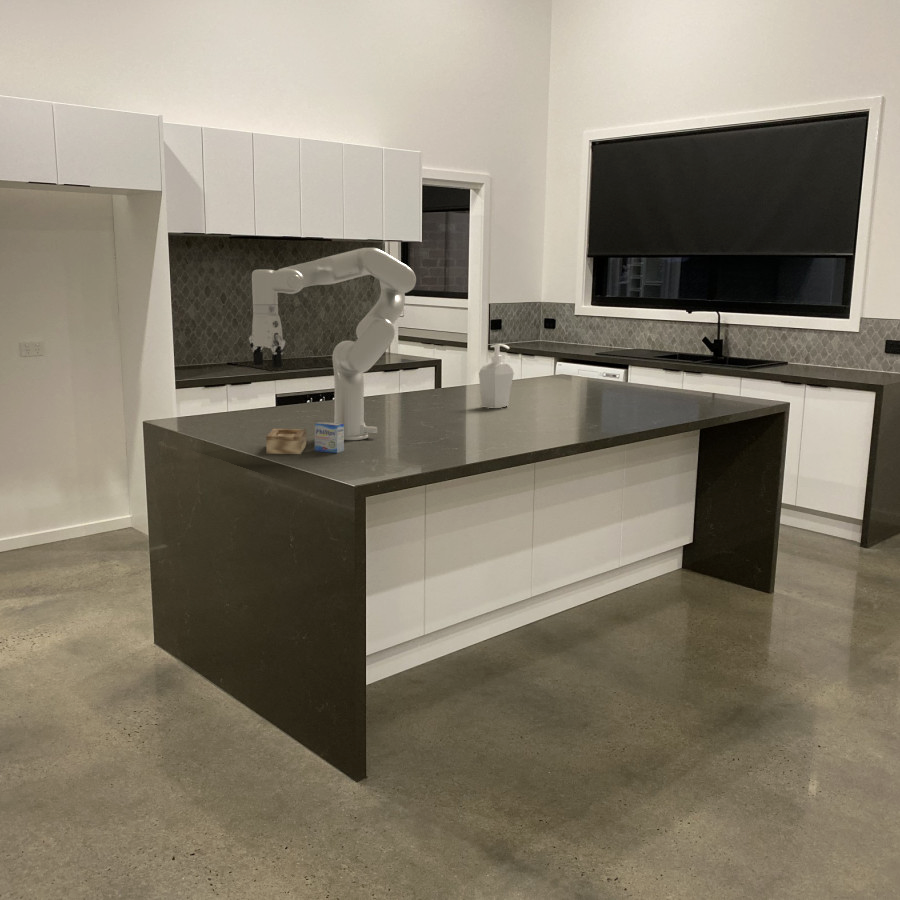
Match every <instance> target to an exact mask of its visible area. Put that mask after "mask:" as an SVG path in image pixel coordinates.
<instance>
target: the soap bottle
mask: <svg viewBox="0 0 900 900" xmlns="http://www.w3.org/2000/svg"><path fill="white" fill-rule="evenodd" d="M500 347H503V348H505V349H506V350H510V348H511V347H510V346H508V345H507V344H504V343H503V344H502V343H498V344H497V343H496V344H492V345H490V348H494V354H492V355H491V362H486V363H485V364H484V365H482V366H481V368H480V370H479V372H478V379H479V388H480V397H481V407H482V406H486V407H493V408H497V407H502V406H508V407H509V402H510V395H511V391H512V390H511V389H512V386H513V385H512V384H513V379H514V370H513V368H512V367H511V365H509V364H508V363H505V362H504V363H503V361H502V360H503V355H500Z"/></svg>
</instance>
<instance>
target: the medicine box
mask: <svg viewBox="0 0 900 900" xmlns="http://www.w3.org/2000/svg"><path fill="white" fill-rule="evenodd" d="M344 441H345V440H344V424H340V423H335V422H329V421H328V422H327V421H319V422H315V423H314V451H315V452H320V453H331V454H339V453H341V452H344V451H345V449H344V448H345V446H344V445H345V442H344Z"/></svg>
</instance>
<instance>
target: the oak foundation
mask: <svg viewBox="0 0 900 900" xmlns="http://www.w3.org/2000/svg"><path fill="white" fill-rule="evenodd" d="M265 440H266V445H265V446H266V454H271V455H272V454H275V455H276V454H277V455H279V454H280V455H302V452H304V450H305V448H306V447H307V428H305V429H304V428H300V429H299V428H273V429H272V430H271V431H270V432H269V433H267V435H266V438H265Z"/></svg>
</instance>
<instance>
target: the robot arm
mask: <svg viewBox="0 0 900 900" xmlns="http://www.w3.org/2000/svg"><path fill="white" fill-rule="evenodd" d="M365 276H373V277H374V278H376V279H377V280H379V285H380V297H379V298H378V300H377V302H376V303H375V304H374V306H373V307H372V308H371V309H370V311H368V313H367V314H366V315H365V316H364V317H363V318H362V320H361V321H360V322H359V323H358V324H357V326H356V329H355V334H356V337H357V339H356V340H355V341H353V340H343V341H340V342H339V343H338V344H337V345H336V346H334V349H333V351H332V358H331V359H332V366H333V367H332V369H333V377H334V423H340V424H344V441H359V440H361V441H362V440H366V439H367V438H369V433H371V434H373V433H374V434H378V427H377V426H372V425H371V426H368V425H366V422H365V420H364V417H365V414H364V413H365V412H364V410H365V409H364V407H365V405H364V404H365V403H364V401H365V400H364V398H365V397H364V395H365V393H364V391H365V381H364V373H366V372H368V371H369V370H370V369H371V368H372V367H373V366H374V365H375V364H376V363H377V361H378V360H379V359H380V358H381V357H382V356H383V354H384V353H385V352H386V351H387V350H388V349H389V348H390V347H391V345H392V343H393V341H394V338H395V331H396V330H395V326H394V324H395V323H396V321H397V320H398V319H399V318H400V316H401V314H402V312H403V310H404V307H405V301H406V296H405V295H406V294H407V293H409V292H411V291H412V290H414V288H415V286H416V283H417V277H416V273H415V272H414V270H413V269H412V268H411V267H409V266H408V265H407V264H405V263H403V262H401V261H400V260H398V259H396V258H395V257H393V256H392V255H390V254H388V253H386V252H385V251H383V250H381V249H379V248H377V247H362V248H357V249H353V250H350V251H349V250H348V251H345V252H340V253H337V254H333V255H330V256H326V257H325V256H324V257H322V258H317V259H314V260H311V261H307V262H303V263H299V264H298V263H297V264H295V265H290V266H286V267H282V268H279V269H278V270H274V269H255V270H253V271H252V272H251V283H252V284H251V288H252V289H251V291H252V326H251V327H252V328H251V335H250V336H249V337H248V341H249V344H250V345H249V346H250V348H251V351H252V354H253V355H252V359H253V365H254V366H258V365H260V366H261V365H263V364H264V355H263V354H264V353H263V351H262V350H263V349H264V348H265V349H266V348H267V349H270V350H271V352H272V354H271V367H272V368H274V369H276V368H282V367H283V365H282V364H283V361H282V360H283V359H282V355H283V352H284V350H285V346H286V340H285V339H284V337H283V326H282V322H281V316H280V315H279V303H278V302H279V298H278V296H279V295H278V293H280V294H281V293H283V294H289V295H293V294H297V293H299V292H300V291H301V290H303V288H307V287H311V286H312V287H313V286H319V285H322V286H325V285H333V284H337V283H342V282H345V281H348V280H353V279H356V278H360V277H365Z"/></svg>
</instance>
